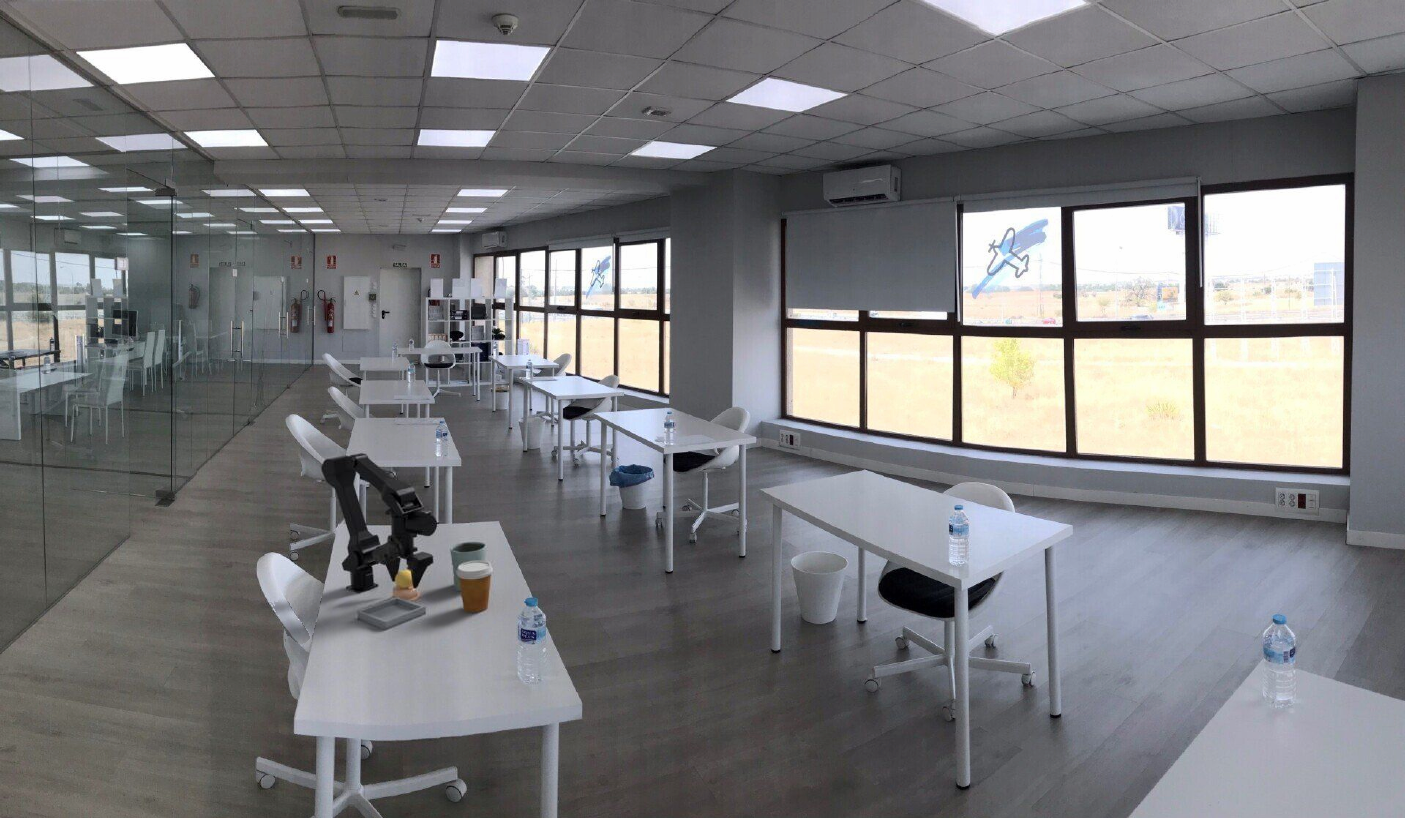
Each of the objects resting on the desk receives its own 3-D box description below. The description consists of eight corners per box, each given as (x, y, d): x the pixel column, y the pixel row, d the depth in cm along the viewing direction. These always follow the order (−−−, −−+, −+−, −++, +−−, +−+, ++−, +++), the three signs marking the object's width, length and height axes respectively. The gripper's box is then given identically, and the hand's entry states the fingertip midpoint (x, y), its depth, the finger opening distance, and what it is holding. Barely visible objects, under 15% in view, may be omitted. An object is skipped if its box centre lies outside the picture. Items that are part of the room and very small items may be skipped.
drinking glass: (459, 595, 212) (457, 554, 210) (446, 584, 220) (444, 545, 218) (492, 587, 218) (491, 547, 217) (479, 577, 226) (478, 539, 225)
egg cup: (385, 599, 208) (384, 587, 208) (408, 590, 215) (407, 578, 214) (402, 605, 204) (401, 592, 204) (425, 596, 211) (425, 584, 210)
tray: (357, 619, 195) (357, 611, 195) (397, 604, 205) (397, 596, 205) (386, 629, 189) (385, 622, 188) (425, 613, 199) (425, 606, 198)
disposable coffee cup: (483, 616, 197) (482, 573, 196) (450, 613, 199) (449, 570, 198) (500, 602, 207) (499, 561, 205) (468, 599, 209) (467, 558, 207)
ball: (391, 588, 208) (390, 571, 208) (407, 583, 212) (406, 566, 212) (402, 592, 206) (402, 575, 205) (418, 586, 210) (417, 569, 209)
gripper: (355, 532, 205) (358, 586, 207) (398, 544, 195) (401, 601, 197) (391, 522, 214) (393, 574, 216) (433, 533, 205) (435, 588, 207)
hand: (404, 584), depth 209 cm, fingers open, 9 cm apart
